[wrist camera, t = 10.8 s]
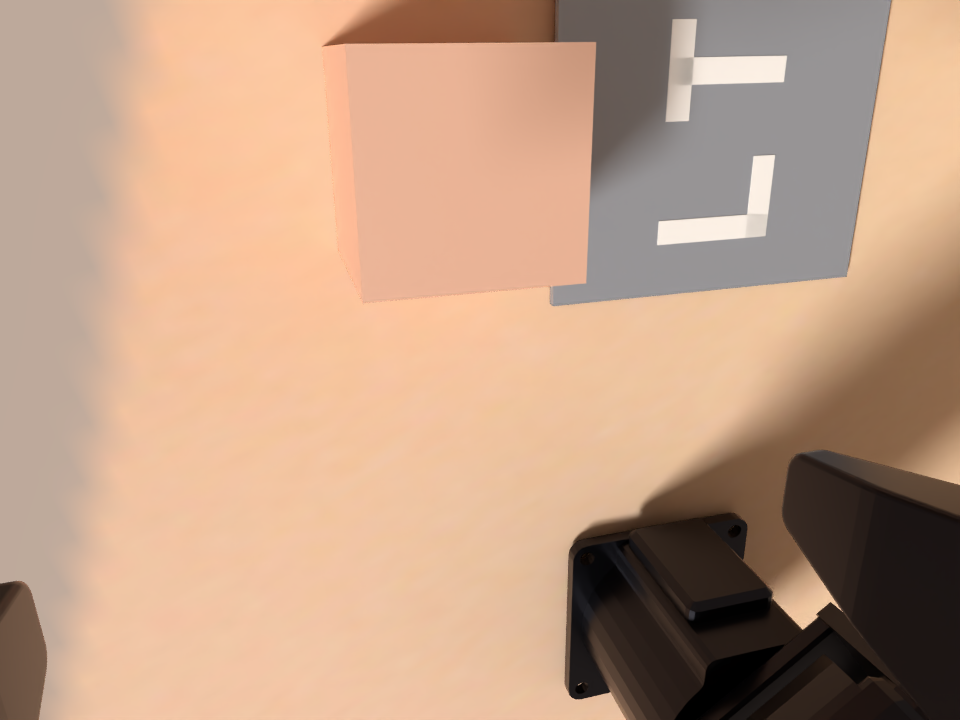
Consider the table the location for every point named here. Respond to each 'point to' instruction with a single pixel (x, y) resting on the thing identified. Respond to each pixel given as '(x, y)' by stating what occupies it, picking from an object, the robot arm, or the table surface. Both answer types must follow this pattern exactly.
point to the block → (460, 165)
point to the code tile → (723, 140)
